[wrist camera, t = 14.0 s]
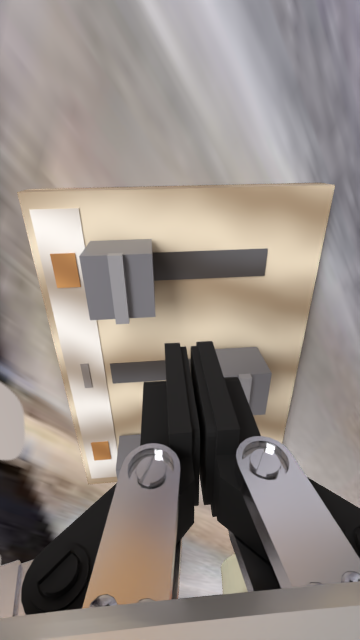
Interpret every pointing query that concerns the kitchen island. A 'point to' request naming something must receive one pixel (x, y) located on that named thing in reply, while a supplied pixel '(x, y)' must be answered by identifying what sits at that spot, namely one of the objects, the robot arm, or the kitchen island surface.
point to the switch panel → (176, 291)
